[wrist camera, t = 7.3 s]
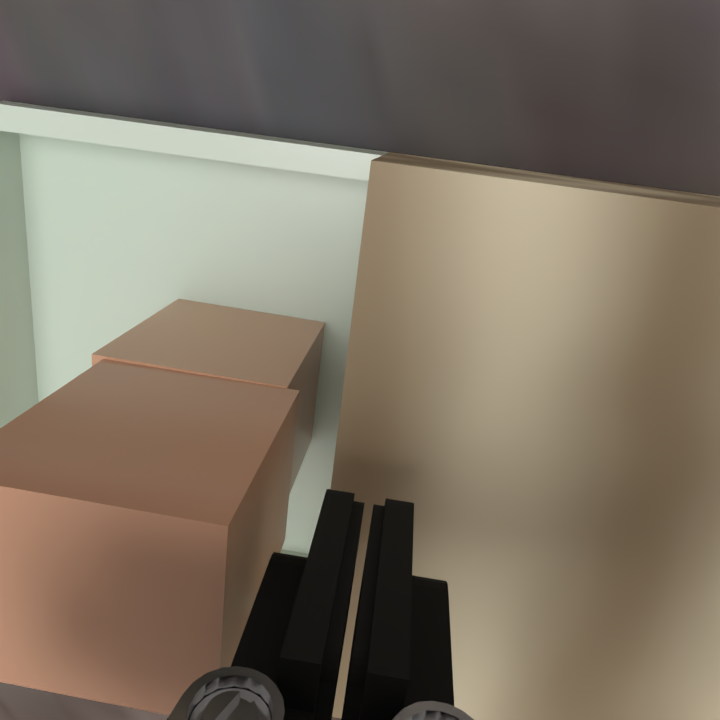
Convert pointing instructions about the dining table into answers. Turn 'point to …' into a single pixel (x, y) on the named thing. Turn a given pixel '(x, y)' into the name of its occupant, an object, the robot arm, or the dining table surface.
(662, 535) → the plate
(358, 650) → the robot arm
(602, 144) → the dining table surface
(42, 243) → the tray
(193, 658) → the block
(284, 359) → the block
